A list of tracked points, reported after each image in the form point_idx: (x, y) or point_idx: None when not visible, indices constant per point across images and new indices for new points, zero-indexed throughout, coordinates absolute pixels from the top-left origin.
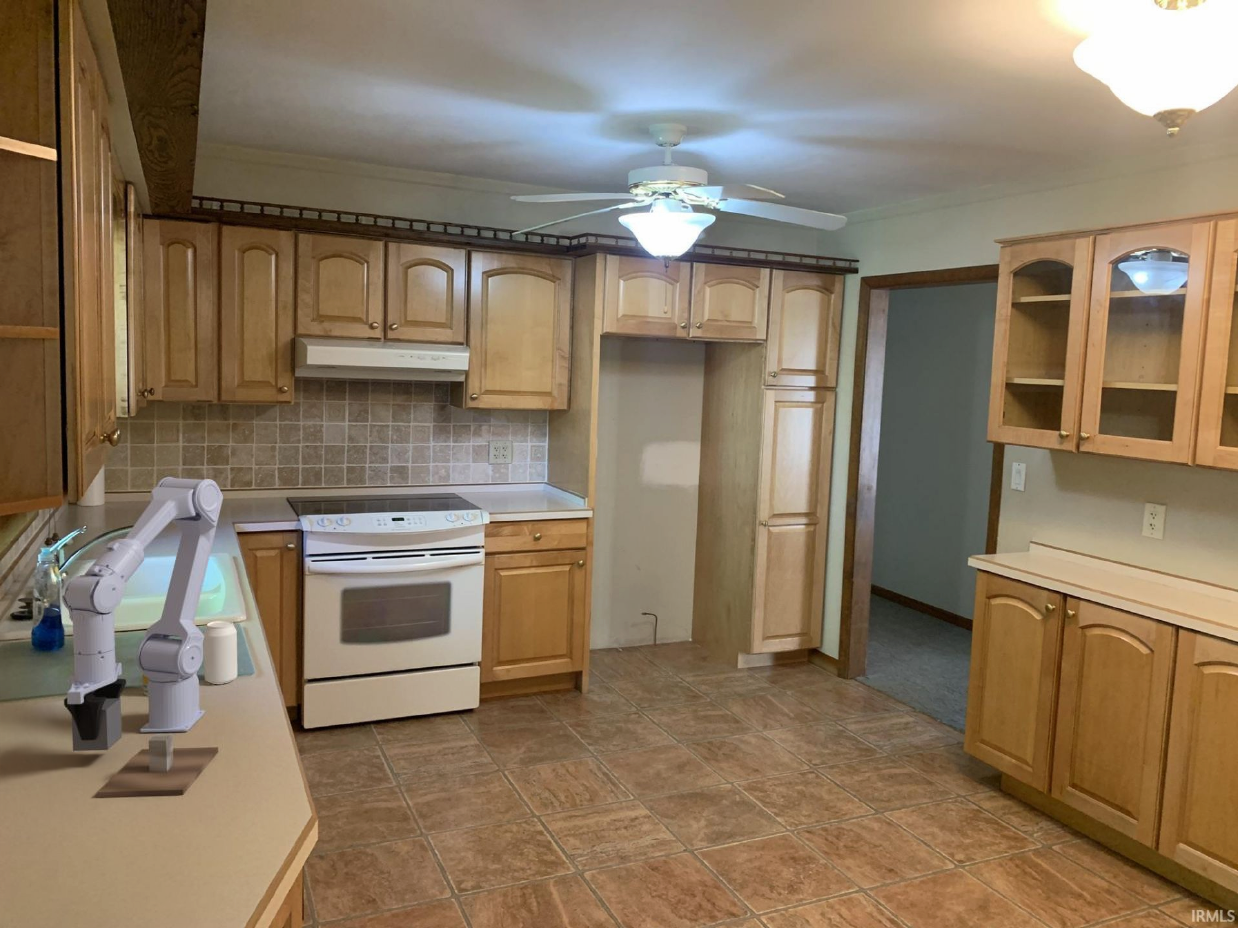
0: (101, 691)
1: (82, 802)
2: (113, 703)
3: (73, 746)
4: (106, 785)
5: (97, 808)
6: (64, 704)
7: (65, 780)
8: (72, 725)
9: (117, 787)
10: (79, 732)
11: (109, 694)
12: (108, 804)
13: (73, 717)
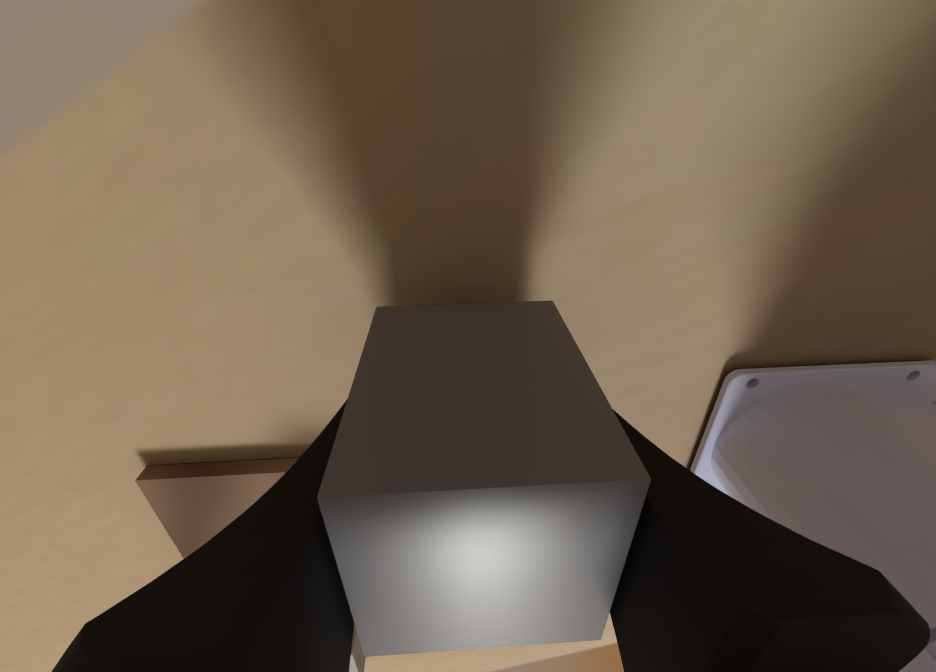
0: (663, 628)
1: (95, 442)
2: (494, 642)
3: (374, 320)
4: (191, 481)
5: (78, 492)
6: (70, 645)
7: (245, 309)
8: (350, 396)
9: (188, 511)
10: (331, 421)
11: (636, 629)
12: (115, 505)
13: (250, 508)
